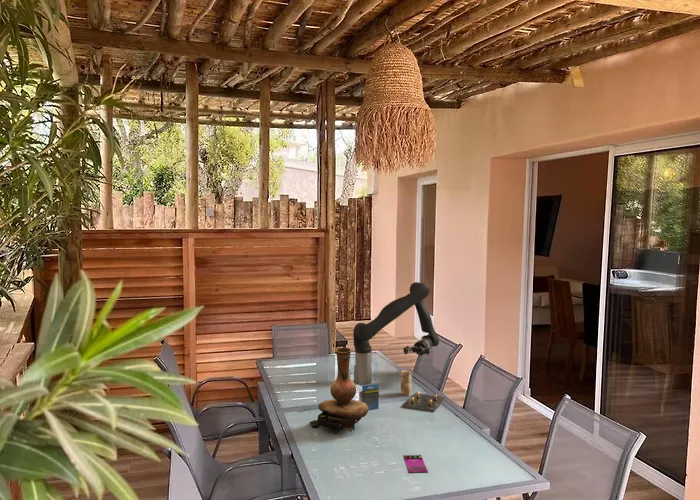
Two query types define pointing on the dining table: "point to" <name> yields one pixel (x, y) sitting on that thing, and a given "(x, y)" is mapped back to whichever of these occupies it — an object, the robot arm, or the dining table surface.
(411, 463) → the smartphone
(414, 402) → the chassis
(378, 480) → the dining table surface
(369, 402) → the label tape box
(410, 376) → the maple block
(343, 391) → the vase
